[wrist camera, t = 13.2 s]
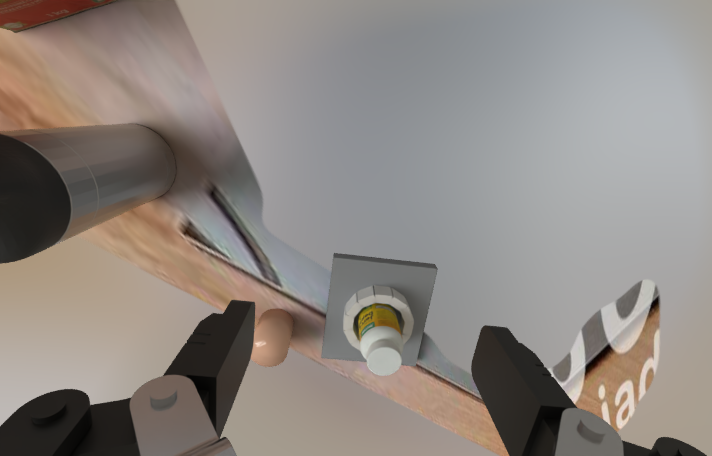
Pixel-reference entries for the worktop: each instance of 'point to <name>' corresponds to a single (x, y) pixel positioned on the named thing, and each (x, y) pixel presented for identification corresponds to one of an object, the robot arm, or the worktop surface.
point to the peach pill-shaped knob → (272, 337)
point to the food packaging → (41, 11)
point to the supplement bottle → (380, 338)
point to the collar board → (376, 285)
